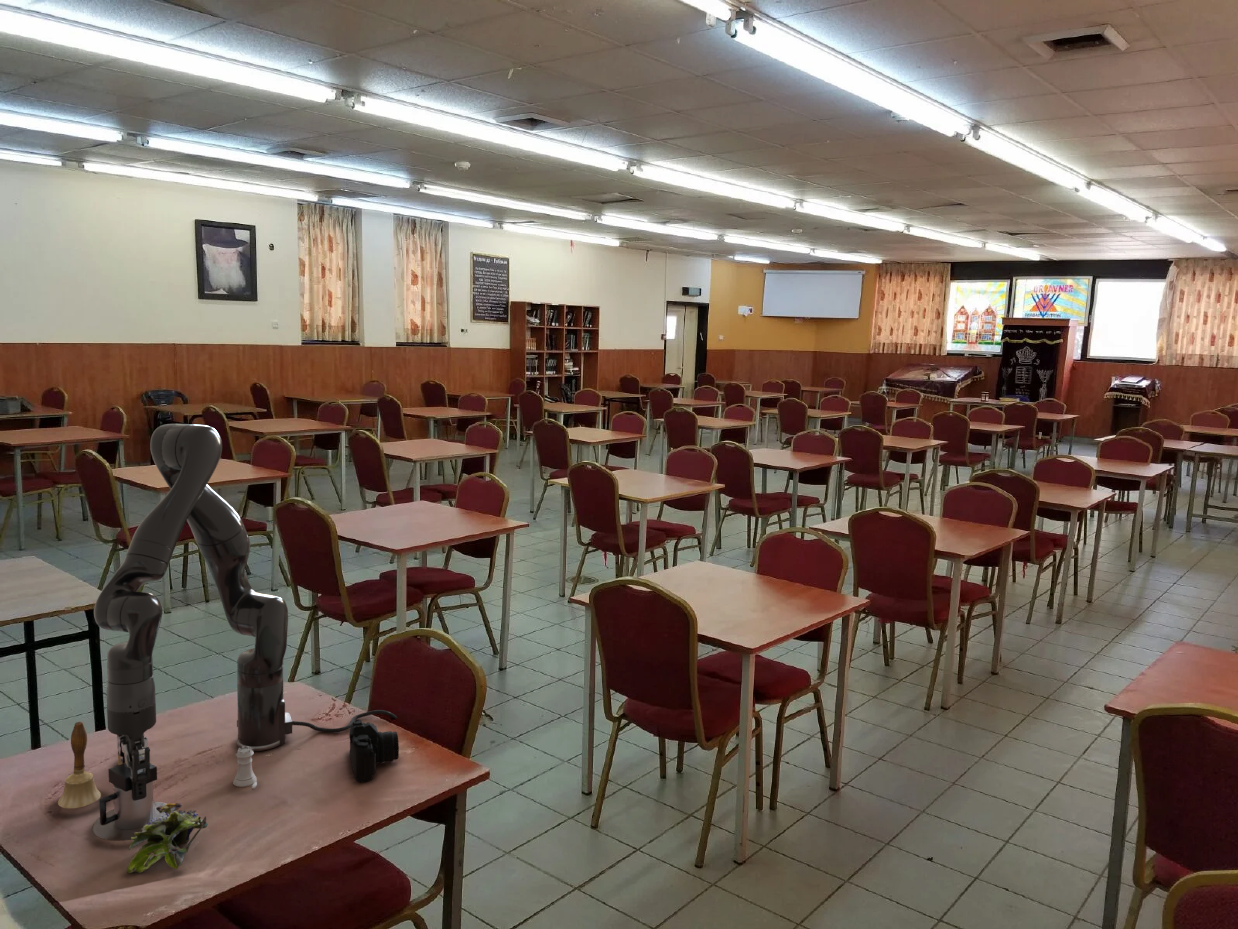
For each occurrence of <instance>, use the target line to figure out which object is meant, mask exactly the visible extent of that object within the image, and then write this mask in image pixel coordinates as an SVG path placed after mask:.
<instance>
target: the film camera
mask: <svg viewBox="0 0 1238 929" xmlns="http://www.w3.org/2000/svg"><path fill="white" fill-rule="evenodd" d="M348 736H349V737H348V738H349V750H348V751H349V752H348V753H349V758H350V763H351V768H352V772H353V775H354V778H355V781H356V782H358V783H367V782H370V781H372V780H373V778H374V777H373V776H375V774H376V772H377V769H376V768H377V764H384V763H391V762H393V761H396V760H399V757H400V756H399V755H400V744H399V734H398V732H397V731H392V730H388V731H378V727H377V725H375V724H374V723H372V722H363V721H362V720H360V718H358V719H356V720H355V721H353V724H352V725H351V727H350V728H349V732H348Z"/></svg>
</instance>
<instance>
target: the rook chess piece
mask: <svg viewBox="0 0 1238 929" xmlns="http://www.w3.org/2000/svg"><path fill="white" fill-rule="evenodd" d="M254 752H255V751H252V748H251V747H250V749H249V746H247V747H246V748H245V749H244V746H243V747H242V749H241V748H239V747H238V749H237V751H236V753H235V757H236V758H237V760H236V764H237V771H236V774H235V777H234V779H233V781H232V784H233V785H234V786H235V787H237V788H246V787H250V786H251V789H252V790H254V789H255V788H256V787H257V786H258V782H257V776H256V774H255V773H254V771H253V766H252V765H253V764H252V762H253V758H252V756H253V755H254Z"/></svg>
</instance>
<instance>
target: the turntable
mask: <svg viewBox="0 0 1238 929" xmlns="http://www.w3.org/2000/svg"><path fill="white" fill-rule="evenodd" d="M153 803H154V819H156V818H159V817H160V818H161V817H162V816H164V817H167V816H166V814H165V813H159V811H158V810H157V809H156V808H157V807H159V806H166V805H167V804H168V803H165V802H160V801H153ZM173 812H174V811H173ZM106 815H107V818H108V817H110V816H113V815H114V808H113V809H110V810H108V811H106ZM154 819H153V820H154ZM142 828H144V827H143V826H142V827H139V828H135V829H128V830H125V829H119V828H117V827H116V826H115V825H114V821H113V822H111V823H108V824H106V825H101V824H100V816H99V817H98V818H97V819H96V820H95V821H94V822H93V825H92V829H91V830H92V833H93V835H94V836H96V837H97V838H99V839H102V840H104V841H105V840H106V841H111V842H112V841H113V842H122V841H131V840H132V839H131V837H137V836H135V834H134V833H136V832H138V833H139V832H140V833H141V832H142V831H143V830H142ZM132 841H133V840H132Z"/></svg>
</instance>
